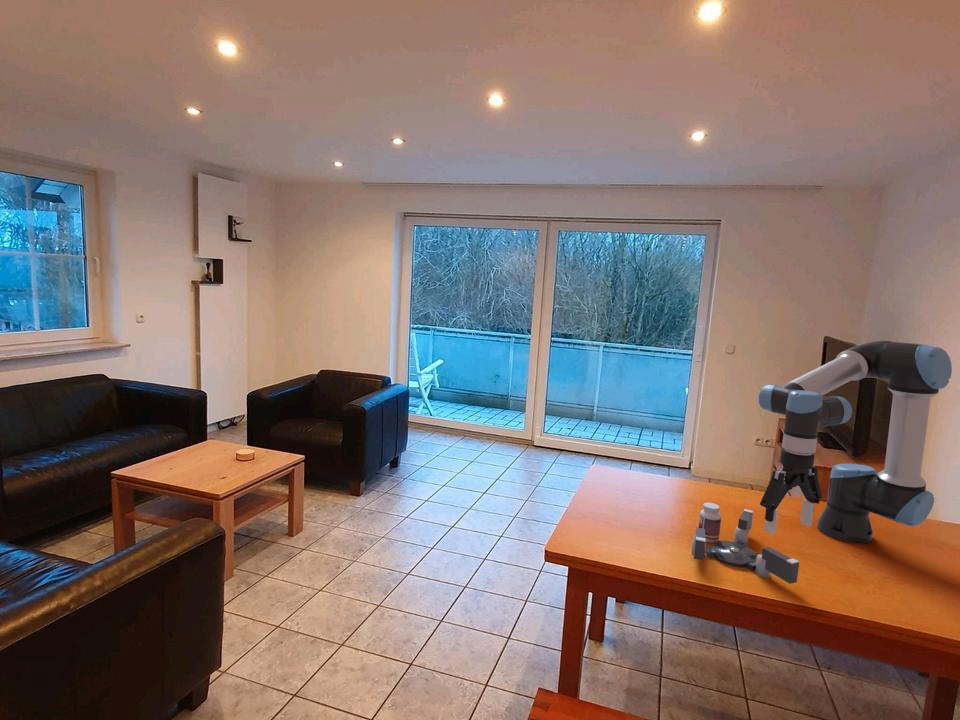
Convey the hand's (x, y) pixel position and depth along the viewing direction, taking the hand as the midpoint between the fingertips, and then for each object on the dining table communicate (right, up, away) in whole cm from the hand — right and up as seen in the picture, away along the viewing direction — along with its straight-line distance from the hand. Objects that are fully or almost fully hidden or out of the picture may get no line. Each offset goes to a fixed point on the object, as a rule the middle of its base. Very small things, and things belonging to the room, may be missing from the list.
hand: (787, 528), depth 141 cm
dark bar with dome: (-18, -14, +15) cm, 27 cm away
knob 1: (+2, -13, +28) cm, 31 cm away
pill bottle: (-9, -12, +28) cm, 32 cm away
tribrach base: (-6, -14, +17) cm, 23 cm away
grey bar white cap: (-1, -16, +5) cm, 17 cm away
